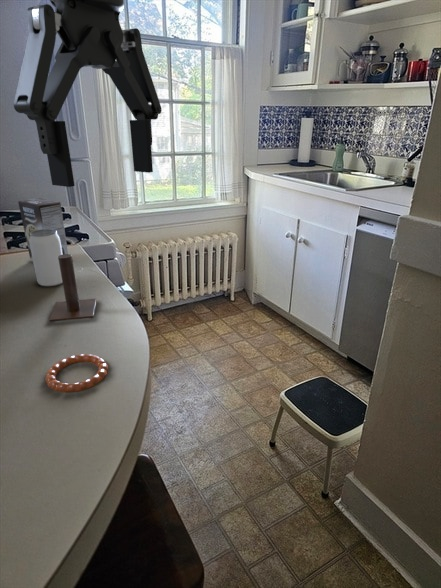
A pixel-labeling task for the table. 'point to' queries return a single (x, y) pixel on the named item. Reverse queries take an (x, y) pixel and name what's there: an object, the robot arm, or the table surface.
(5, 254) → the table surface
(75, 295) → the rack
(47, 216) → the coffee box
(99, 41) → the robot arm
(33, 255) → the can
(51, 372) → the ring
